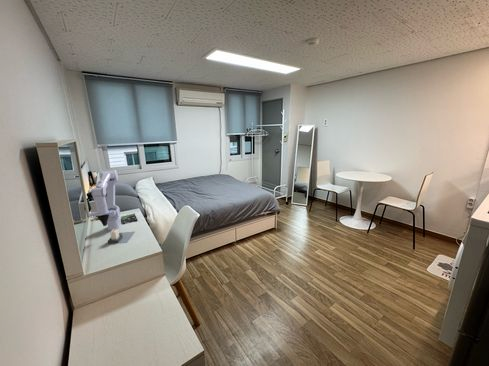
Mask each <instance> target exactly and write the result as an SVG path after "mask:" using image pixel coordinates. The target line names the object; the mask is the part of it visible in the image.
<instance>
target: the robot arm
mask: <svg viewBox="0 0 489 366" xmlns="http://www.w3.org/2000/svg"><path fill="white" fill-rule="evenodd" d="M99 176H100V178H101V179H100V180H99V181H97V183H96V185H95V187H93V188H92V189H91V196H92V198H93V200H94V203H95V207H96V211H95V212H94V211H93V212H92V211H91V212H90V213H89V216H90V217H95V216H97V220H99V221H100V222H101V224H102V226H103V227H107V229H108V231H110V232H111V231H112V230H113V229H118V230H119V229H120V228H121V226H122V225H123V223H122V220H121V211H120V209H121V208H120V207H119V206H118V205H116V183H118V180H119V175H118V171H117V170H116V169H114V170H113V169H111V170H100V172H99ZM106 195H107V198H106Z"/></svg>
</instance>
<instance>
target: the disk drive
mask: <svg viewBox="0 0 489 366" xmlns="http://www.w3.org/2000/svg"><path fill="white" fill-rule="evenodd" d="M120 219H121V224H122V225H126V224H130V223H134V222H135V223H137V222H139V221H138V217H137V216H136V214H135V213H130V214H127V215H126V214H125V215H122V216H121V215H120Z"/></svg>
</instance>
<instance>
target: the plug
mask: <svg viewBox="0 0 489 366" xmlns="http://www.w3.org/2000/svg"><path fill="white" fill-rule="evenodd" d="M119 233H120V232H119V229H113V230H112V231H110V238H111V239H112V240H117V239H118V238H119V237H120V236H119Z"/></svg>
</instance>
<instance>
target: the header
mask: <svg viewBox="0 0 489 366" xmlns="http://www.w3.org/2000/svg"><path fill="white" fill-rule="evenodd" d="M119 236H120V237H119V238H118V239H117V240H112V239H111V237H109V239H108V240H107V244H109V245H112V244H111V243H119V241H120V240H121V239H122V238H123V236H122V235H119Z"/></svg>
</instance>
